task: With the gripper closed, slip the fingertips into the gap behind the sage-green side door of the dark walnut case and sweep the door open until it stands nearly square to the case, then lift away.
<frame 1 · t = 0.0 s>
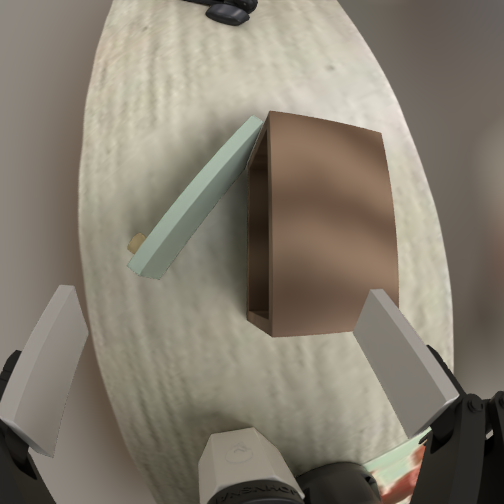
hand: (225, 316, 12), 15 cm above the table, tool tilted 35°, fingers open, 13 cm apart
can opener: (206, 7, 32), on the table
case: (295, 240, 29), on the table
door: (190, 198, 22), point 5 cm above the table, hinge at 35.0°
jar: (238, 455, 25), on the table
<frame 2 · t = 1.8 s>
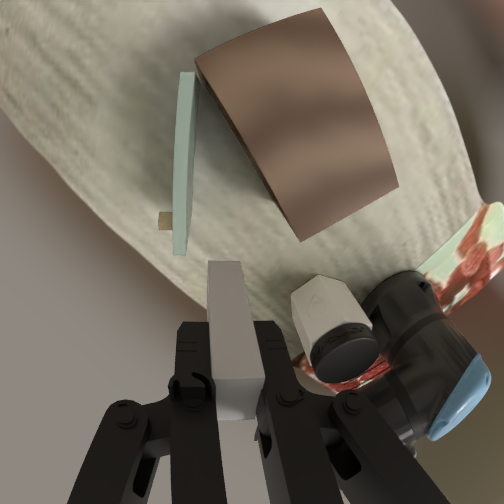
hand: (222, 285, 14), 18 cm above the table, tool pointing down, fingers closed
case: (281, 118, 27), on the table
door: (176, 157, 23), point 5 cm above the table, hinge at 35.0°
jar: (317, 298, 39), on the table
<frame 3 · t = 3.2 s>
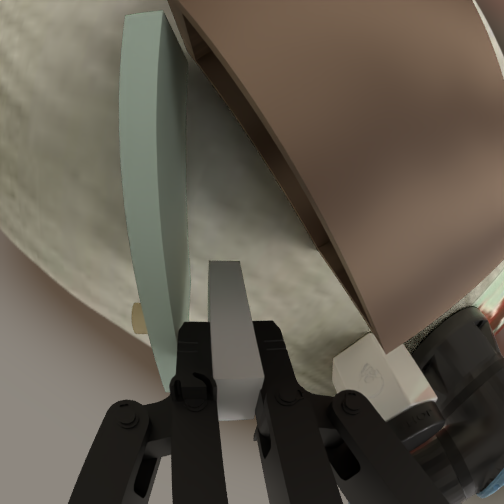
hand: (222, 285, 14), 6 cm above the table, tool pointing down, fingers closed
case: (329, 117, 15), on the table
door: (149, 207, 12), point 5 cm above the table, hinge at 35.2°, touching gripper
jar: (363, 356, 28), on the table
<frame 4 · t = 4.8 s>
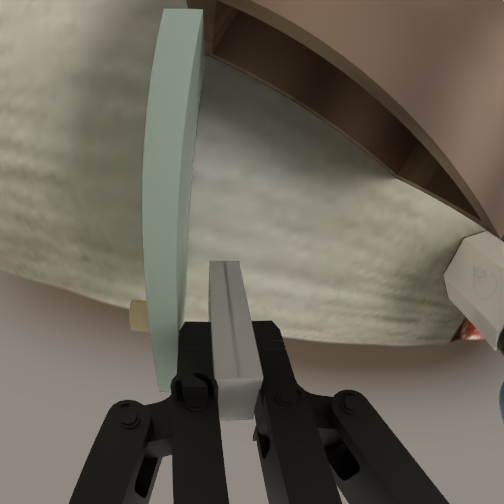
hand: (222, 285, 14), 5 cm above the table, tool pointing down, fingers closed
case: (350, 55, 14), on the table
door: (157, 205, 12), point 5 cm above the table, hinge at 68.4°, touching gripper
jar: (466, 263, 24), on the table
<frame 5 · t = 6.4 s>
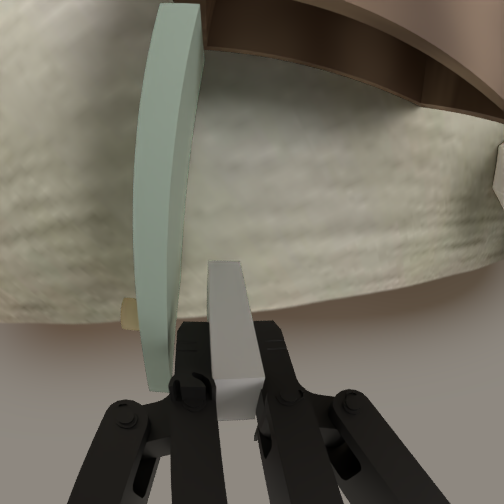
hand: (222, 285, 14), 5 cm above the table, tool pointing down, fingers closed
case: (333, 5, 11), on the table
door: (150, 202, 11), point 5 cm above the table, hinge at 91.5°
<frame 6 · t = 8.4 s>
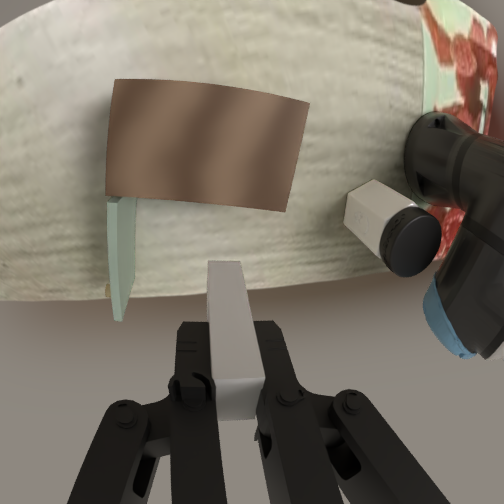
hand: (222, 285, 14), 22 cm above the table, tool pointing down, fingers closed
case: (203, 133, 30), on the table
door: (116, 247, 29), point 5 cm above the table, hinge at 91.6°
jar: (367, 207, 38), on the table
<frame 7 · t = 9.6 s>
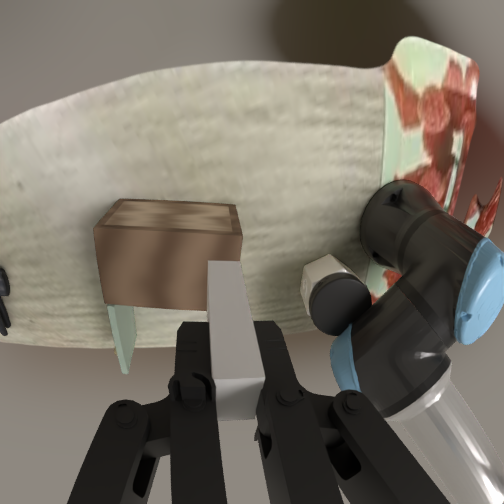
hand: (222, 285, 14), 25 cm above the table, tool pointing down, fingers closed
can opener: (2, 295, 39), on the table
case: (174, 234, 38), on the table
door: (119, 322, 38), point 5 cm above the table, hinge at 91.6°
jar: (324, 278, 45), on the table, touching arm
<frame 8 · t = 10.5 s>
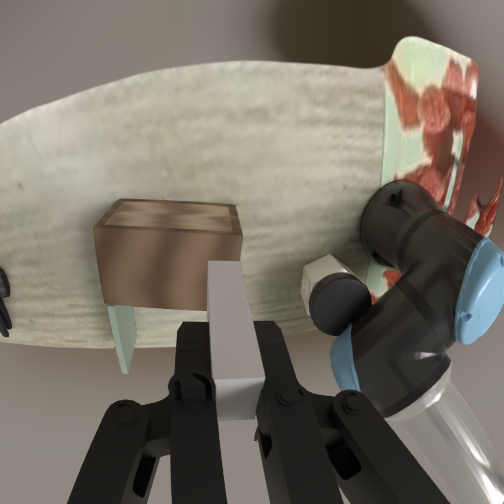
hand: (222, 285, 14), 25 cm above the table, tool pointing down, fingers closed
can opener: (3, 297, 39), on the table
case: (175, 234, 38), on the table
door: (119, 322, 38), point 5 cm above the table, hinge at 91.6°
jar: (324, 278, 45), on the table, touching arm
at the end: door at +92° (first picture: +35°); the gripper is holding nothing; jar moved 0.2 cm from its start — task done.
